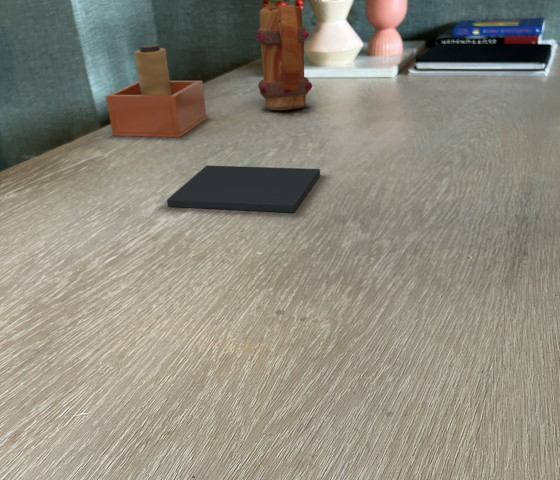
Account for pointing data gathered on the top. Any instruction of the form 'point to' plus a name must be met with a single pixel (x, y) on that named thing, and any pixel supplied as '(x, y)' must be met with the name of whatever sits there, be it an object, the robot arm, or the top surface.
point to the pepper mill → (152, 70)
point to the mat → (246, 188)
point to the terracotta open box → (157, 110)
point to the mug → (283, 57)
